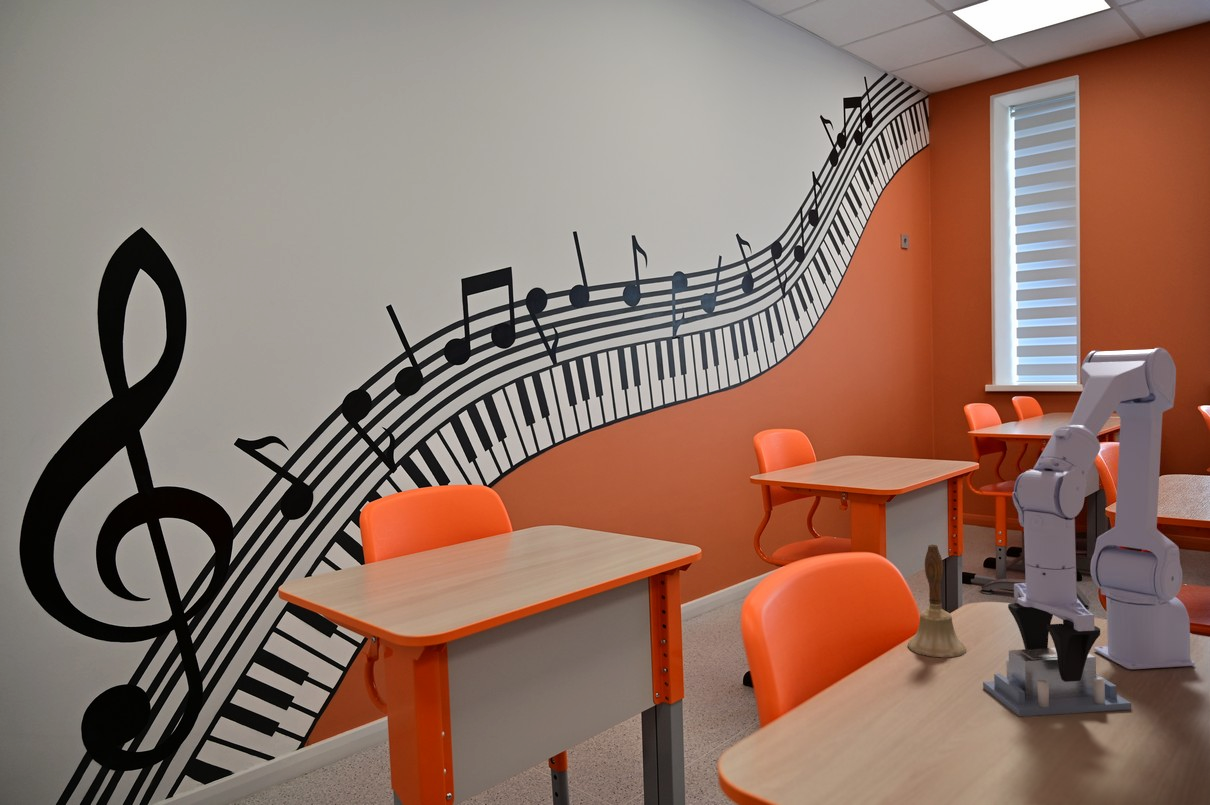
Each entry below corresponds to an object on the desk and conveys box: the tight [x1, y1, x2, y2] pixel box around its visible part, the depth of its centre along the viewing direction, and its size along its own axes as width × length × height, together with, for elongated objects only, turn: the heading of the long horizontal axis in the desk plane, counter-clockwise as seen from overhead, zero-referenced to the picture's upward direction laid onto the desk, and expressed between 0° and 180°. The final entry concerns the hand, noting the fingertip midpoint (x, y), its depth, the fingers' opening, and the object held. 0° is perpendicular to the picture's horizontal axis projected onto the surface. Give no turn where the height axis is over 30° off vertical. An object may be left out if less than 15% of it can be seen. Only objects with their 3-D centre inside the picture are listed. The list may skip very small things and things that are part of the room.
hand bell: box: [907, 544, 967, 659], centre depth 124 cm, size 8×8×16 cm
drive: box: [1008, 647, 1097, 700], centre depth 104 cm, size 9×4×5 cm, turn 91°
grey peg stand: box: [982, 658, 1132, 717], centre depth 104 cm, size 14×9×4 cm, turn 92°
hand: (1053, 668), depth 104 cm, fingers open, 7 cm apart
